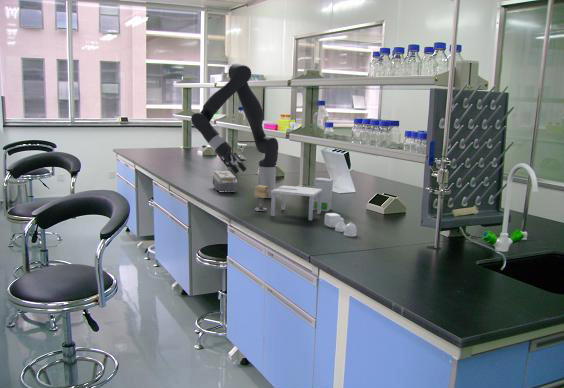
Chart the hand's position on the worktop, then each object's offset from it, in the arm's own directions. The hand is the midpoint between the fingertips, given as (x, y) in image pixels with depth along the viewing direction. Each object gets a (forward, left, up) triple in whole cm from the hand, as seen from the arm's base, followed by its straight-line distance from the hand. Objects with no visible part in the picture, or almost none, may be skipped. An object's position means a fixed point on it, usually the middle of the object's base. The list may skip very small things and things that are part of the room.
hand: (241, 171), depth 245 cm
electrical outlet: (-42, -29, -19) cm, 54 cm away
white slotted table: (0, +29, -18) cm, 34 cm away
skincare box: (-17, +37, -19) cm, 45 cm away
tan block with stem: (0, +11, -18) cm, 21 cm away
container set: (+19, +55, -19) cm, 61 cm away
